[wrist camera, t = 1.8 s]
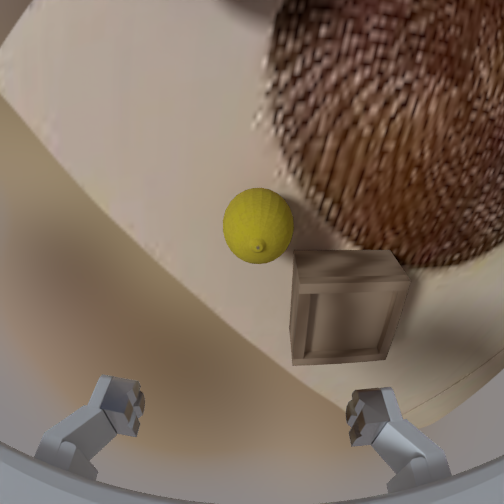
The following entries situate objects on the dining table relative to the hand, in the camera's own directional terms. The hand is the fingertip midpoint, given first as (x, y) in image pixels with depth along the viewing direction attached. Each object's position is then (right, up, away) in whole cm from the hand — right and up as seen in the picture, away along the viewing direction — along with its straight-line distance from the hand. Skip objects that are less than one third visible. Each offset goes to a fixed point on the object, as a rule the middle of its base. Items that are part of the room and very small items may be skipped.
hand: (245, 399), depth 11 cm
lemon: (+1, +10, +18) cm, 20 cm away
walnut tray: (+9, +1, +22) cm, 24 cm away
